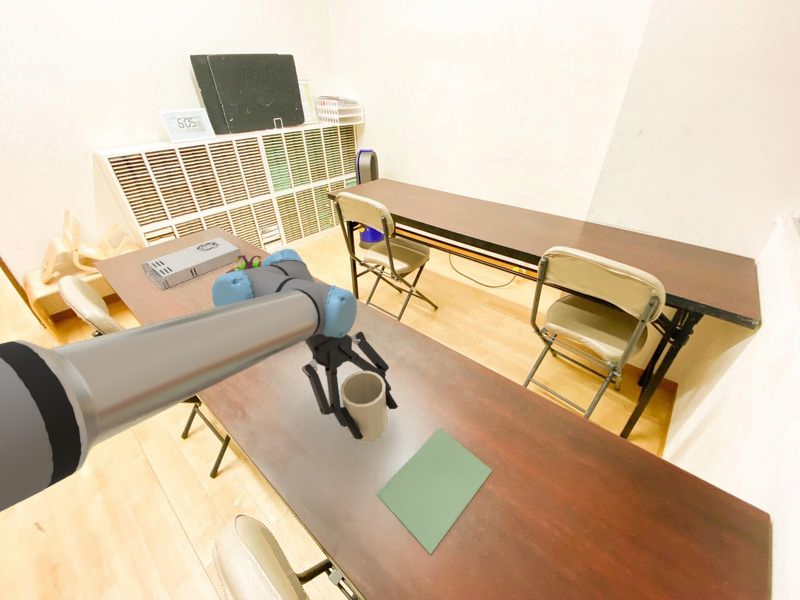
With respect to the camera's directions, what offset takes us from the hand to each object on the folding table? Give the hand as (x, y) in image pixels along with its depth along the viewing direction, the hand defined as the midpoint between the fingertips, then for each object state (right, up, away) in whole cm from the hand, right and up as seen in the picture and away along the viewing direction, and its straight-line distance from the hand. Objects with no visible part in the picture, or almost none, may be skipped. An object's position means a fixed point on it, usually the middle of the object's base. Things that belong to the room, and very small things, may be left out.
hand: (377, 422), depth 63 cm
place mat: (+12, -13, +2) cm, 18 cm away
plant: (-56, +33, +67) cm, 93 cm away
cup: (-2, -2, +4) cm, 5 cm away
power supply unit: (-84, +39, +77) cm, 120 cm away
